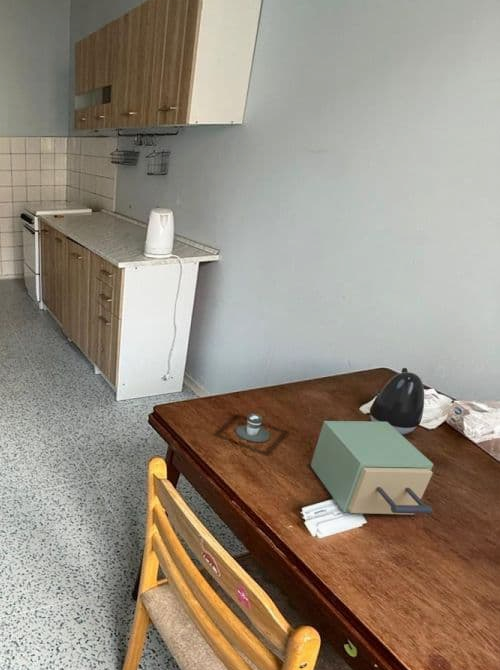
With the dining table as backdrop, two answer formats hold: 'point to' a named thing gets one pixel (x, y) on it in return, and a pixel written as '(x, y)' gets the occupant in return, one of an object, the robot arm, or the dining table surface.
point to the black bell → (400, 402)
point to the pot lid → (253, 429)
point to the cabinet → (359, 454)
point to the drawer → (391, 491)
